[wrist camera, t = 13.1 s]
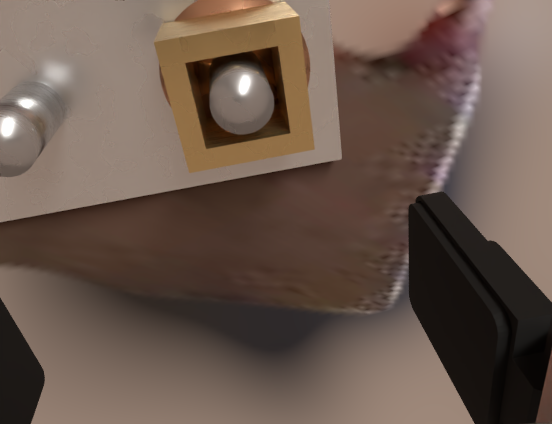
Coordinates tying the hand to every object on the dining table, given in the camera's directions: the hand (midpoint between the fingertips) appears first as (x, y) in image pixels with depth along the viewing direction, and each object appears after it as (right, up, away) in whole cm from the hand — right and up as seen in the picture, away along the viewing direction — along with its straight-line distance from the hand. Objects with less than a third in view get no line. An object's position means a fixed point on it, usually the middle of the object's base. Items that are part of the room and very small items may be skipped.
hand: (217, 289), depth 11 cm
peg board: (-7, +10, +19) cm, 23 cm away
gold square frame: (-1, +10, +18) cm, 21 cm away
